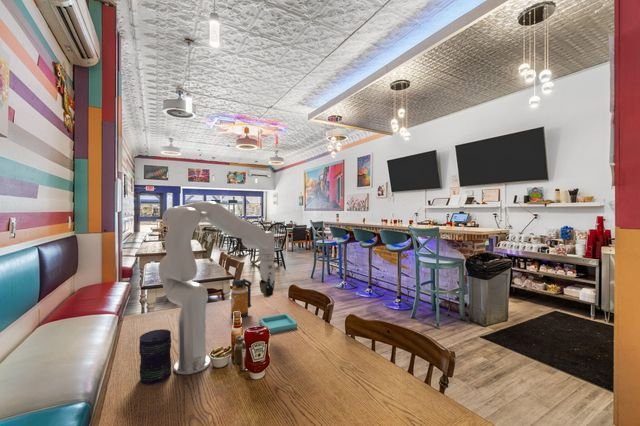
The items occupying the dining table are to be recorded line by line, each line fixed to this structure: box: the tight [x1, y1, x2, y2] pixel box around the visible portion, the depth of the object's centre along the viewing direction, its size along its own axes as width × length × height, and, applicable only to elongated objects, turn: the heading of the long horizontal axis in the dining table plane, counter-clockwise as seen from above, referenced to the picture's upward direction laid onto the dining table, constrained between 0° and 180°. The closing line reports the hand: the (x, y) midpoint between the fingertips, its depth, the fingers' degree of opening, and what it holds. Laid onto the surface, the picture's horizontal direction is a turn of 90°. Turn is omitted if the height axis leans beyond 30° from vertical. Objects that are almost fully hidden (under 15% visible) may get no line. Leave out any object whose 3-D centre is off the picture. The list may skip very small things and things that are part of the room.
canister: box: [230, 278, 253, 318], centre depth 163 cm, size 9×11×20 cm
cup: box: [259, 279, 276, 299], centre depth 142 cm, size 8×7×8 cm
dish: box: [258, 313, 298, 335], centre depth 148 cm, size 15×15×2 cm
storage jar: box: [138, 328, 172, 386], centre depth 104 cm, size 10×10×15 cm
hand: (267, 293), depth 142 cm, fingers closed on cup, 6 cm apart
